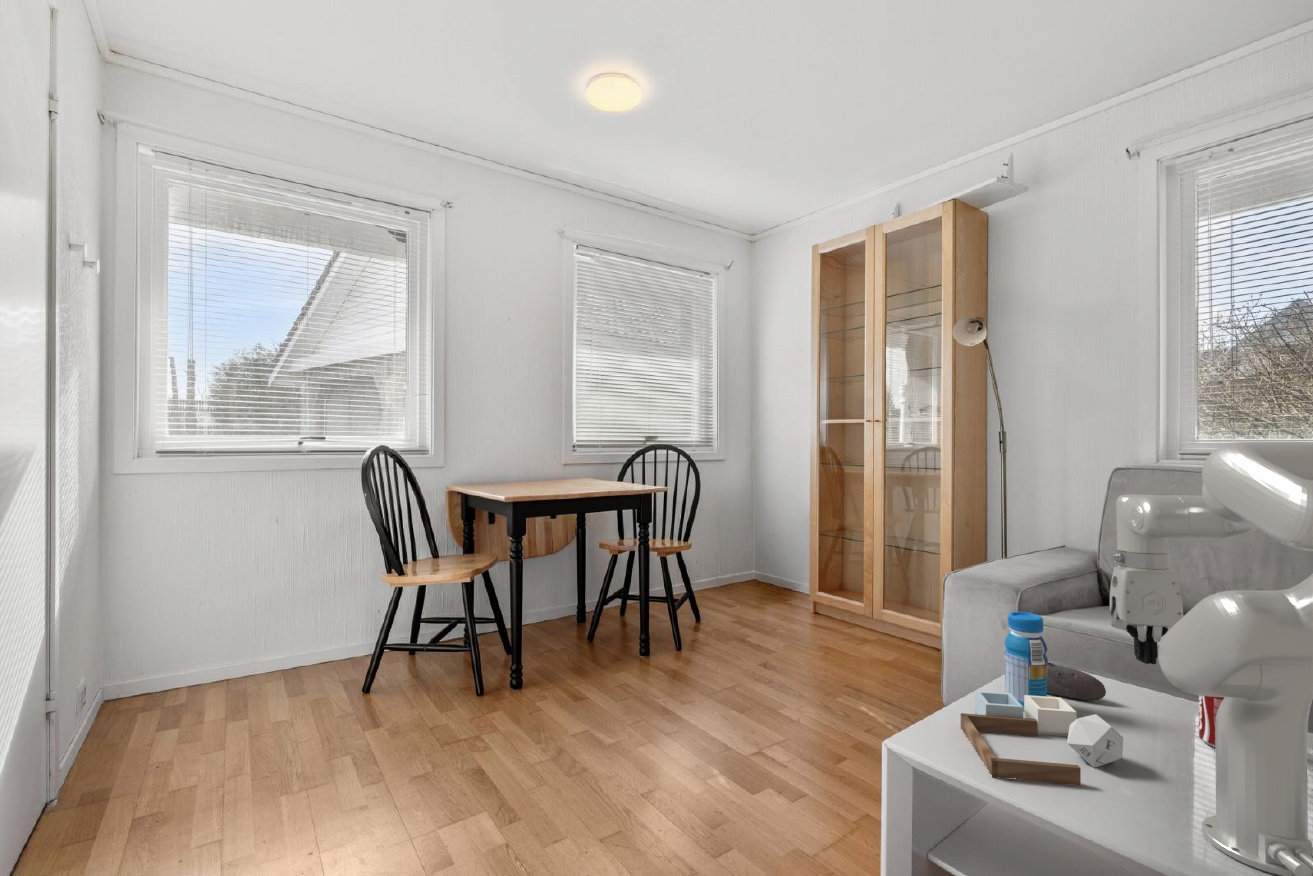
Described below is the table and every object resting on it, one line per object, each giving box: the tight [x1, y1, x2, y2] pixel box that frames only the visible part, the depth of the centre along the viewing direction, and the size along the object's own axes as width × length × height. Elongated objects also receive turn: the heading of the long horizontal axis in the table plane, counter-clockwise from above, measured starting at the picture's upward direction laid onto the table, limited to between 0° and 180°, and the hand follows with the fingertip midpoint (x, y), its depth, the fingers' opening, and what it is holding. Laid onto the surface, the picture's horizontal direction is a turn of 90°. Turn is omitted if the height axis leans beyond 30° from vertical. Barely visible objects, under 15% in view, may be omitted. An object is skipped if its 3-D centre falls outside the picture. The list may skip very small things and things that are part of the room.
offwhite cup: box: [1023, 695, 1078, 737], centre depth 127 cm, size 7×7×5 cm
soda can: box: [1198, 695, 1225, 748], centre depth 120 cm, size 7×7×12 cm
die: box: [1066, 714, 1124, 768], centre depth 114 cm, size 8×9×10 cm
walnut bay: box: [960, 712, 1082, 787], centre depth 117 cm, size 19×14×3 cm
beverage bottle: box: [1003, 611, 1049, 711], centre depth 138 cm, size 8×8×20 cm
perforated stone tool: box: [1047, 661, 1107, 701], centre depth 143 cm, size 15×5×7 cm, turn 50°
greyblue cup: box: [974, 690, 1024, 718], centre depth 129 cm, size 7×7×5 cm
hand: (1146, 661), depth 113 cm, fingers closed
